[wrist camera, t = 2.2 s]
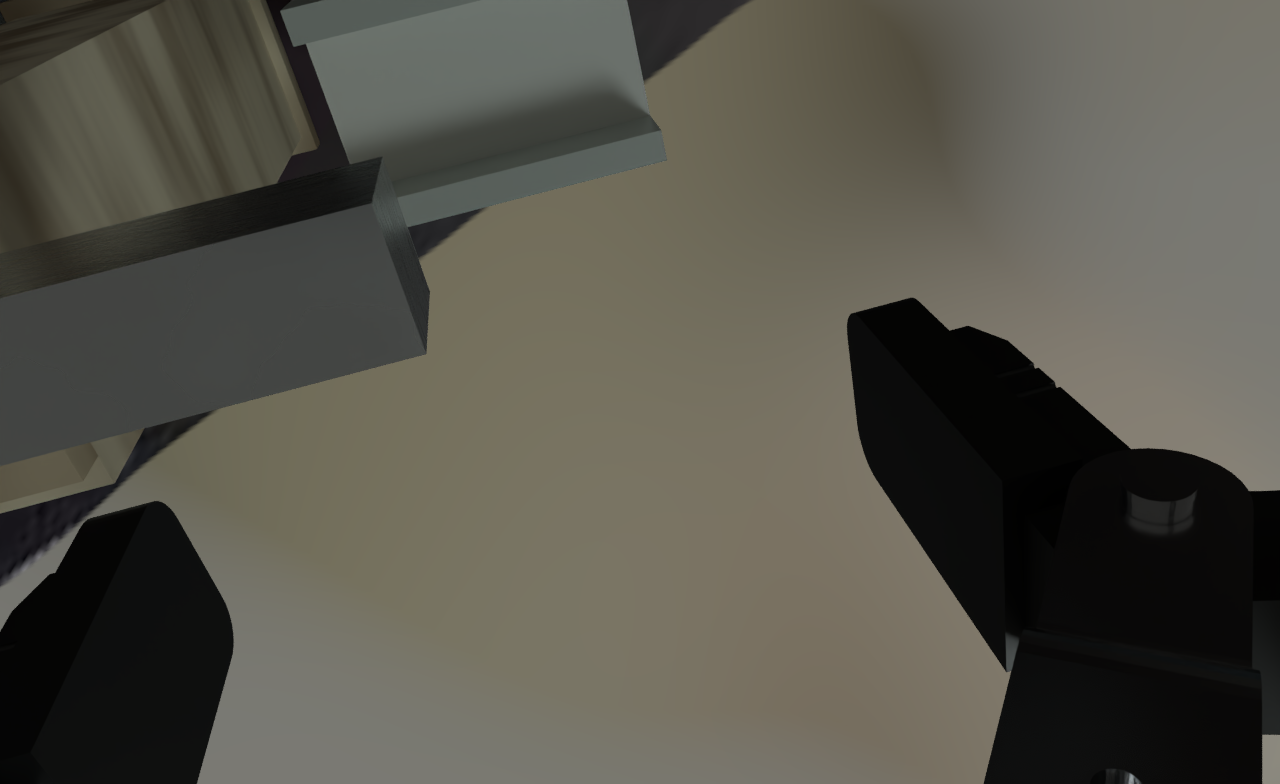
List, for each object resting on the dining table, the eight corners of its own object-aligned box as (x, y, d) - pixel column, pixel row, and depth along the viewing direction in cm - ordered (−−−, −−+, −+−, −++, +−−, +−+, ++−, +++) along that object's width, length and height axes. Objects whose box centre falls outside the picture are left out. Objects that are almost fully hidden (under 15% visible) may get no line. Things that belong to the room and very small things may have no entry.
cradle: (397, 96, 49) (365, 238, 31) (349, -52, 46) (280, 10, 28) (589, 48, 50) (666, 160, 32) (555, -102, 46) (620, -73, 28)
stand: (106, 196, 49) (-370, 666, 21) (7, 0, 45) (-788, 261, 16) (319, 142, 50) (139, 530, 21) (244, -57, 45) (-119, 97, 16)
